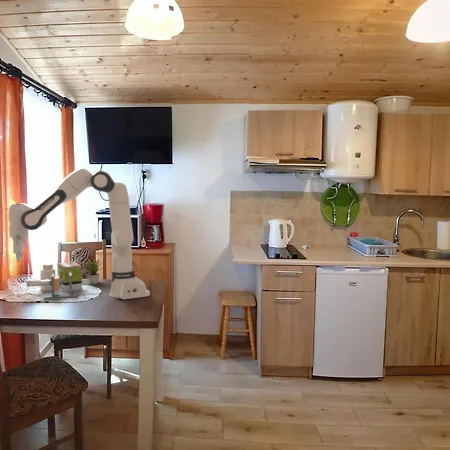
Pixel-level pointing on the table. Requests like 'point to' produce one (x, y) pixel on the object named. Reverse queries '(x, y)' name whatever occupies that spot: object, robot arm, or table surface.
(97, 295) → the table surface
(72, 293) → the grey post stand
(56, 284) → the spacer
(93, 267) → the house plant
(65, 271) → the tea box
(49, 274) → the pill bottle
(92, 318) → the table surface
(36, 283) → the shaft
